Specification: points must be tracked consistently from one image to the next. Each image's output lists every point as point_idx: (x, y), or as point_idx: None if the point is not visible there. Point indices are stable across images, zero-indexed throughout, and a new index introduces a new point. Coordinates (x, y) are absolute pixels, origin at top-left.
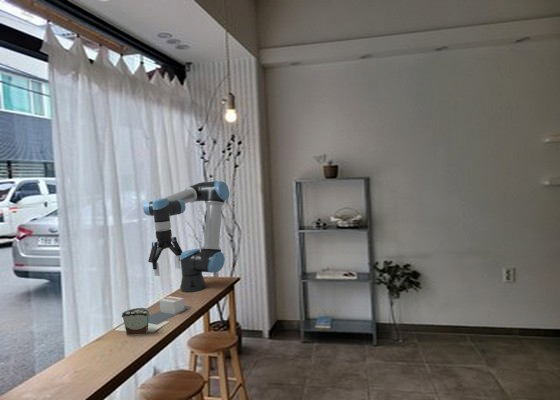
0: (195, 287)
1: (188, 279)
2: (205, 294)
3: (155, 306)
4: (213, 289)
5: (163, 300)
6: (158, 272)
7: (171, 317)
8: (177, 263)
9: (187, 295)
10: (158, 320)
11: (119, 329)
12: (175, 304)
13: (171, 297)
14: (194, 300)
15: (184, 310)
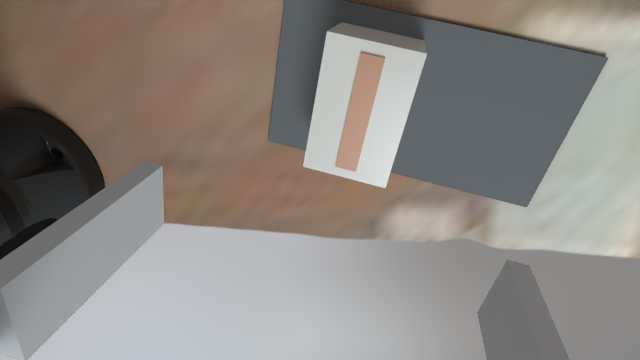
0: (55, 140)
1: (31, 197)
2: (83, 45)
3: (308, 227)
4: (4, 42)
5: (388, 158)
6: (540, 300)
7: (481, 31)
8: (118, 220)
9: (135, 146)
10: (530, 91)
11: (632, 241)
12: (412, 47)
13: (325, 135)
14: (182, 58)
15: (354, 13)
